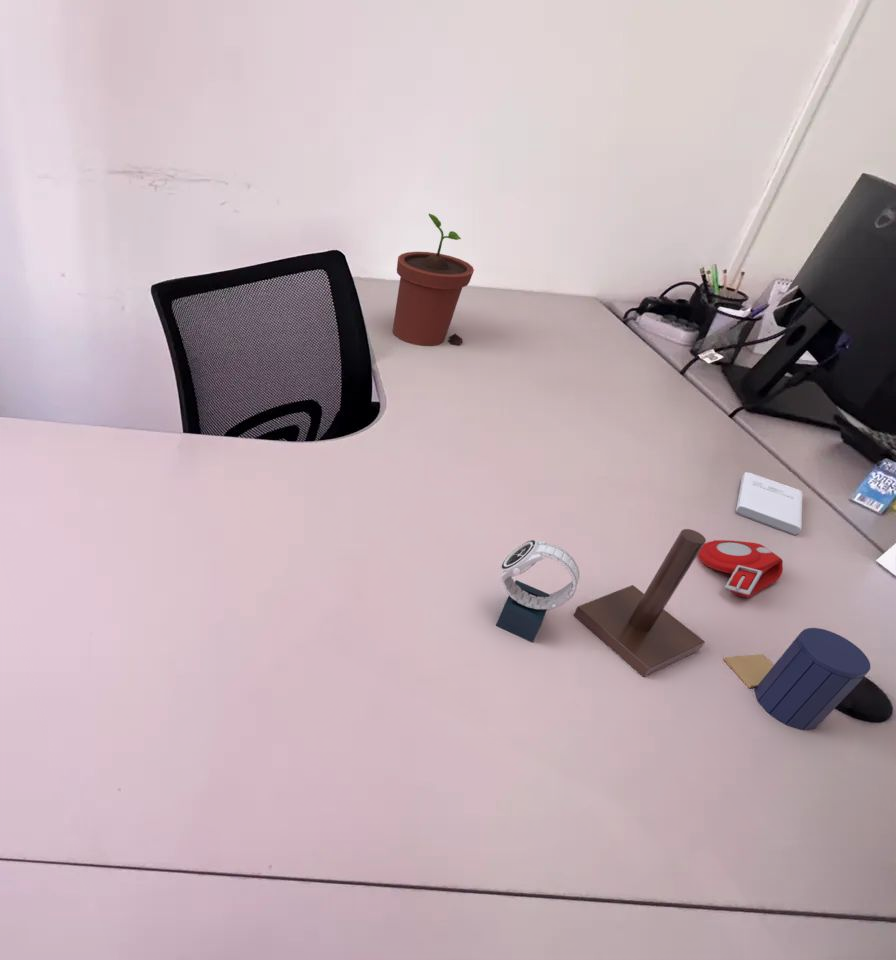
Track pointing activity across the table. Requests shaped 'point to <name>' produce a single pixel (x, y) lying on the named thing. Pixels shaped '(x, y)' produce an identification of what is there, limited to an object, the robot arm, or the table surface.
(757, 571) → the tracker holder
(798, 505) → the hard drive
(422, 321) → the potted plant
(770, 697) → the cap
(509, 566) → the watch
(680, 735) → the table surface
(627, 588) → the stand
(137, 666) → the table surface
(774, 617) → the table surface
